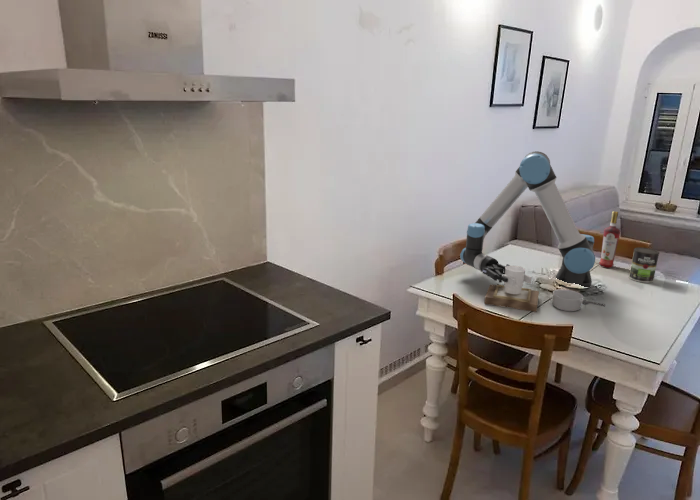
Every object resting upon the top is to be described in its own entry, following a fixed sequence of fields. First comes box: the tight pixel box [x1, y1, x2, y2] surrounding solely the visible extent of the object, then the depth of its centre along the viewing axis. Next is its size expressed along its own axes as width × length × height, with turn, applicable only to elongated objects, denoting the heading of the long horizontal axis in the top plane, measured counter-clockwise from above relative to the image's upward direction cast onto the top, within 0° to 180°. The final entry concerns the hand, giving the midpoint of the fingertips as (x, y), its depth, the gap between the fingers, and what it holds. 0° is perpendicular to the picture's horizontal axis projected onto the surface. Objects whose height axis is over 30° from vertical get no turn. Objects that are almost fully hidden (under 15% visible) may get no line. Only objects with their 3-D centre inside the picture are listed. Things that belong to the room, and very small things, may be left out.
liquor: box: [598, 210, 621, 269], centre depth 254 cm, size 7×7×28 cm
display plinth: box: [484, 283, 540, 313], centre depth 212 cm, size 20×16×4 cm
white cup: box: [503, 265, 526, 294], centre depth 210 cm, size 8×8×10 cm
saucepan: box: [551, 288, 606, 312], centre depth 203 cm, size 12×20×6 cm, turn 45°
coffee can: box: [628, 247, 660, 284], centre depth 238 cm, size 10×10×14 cm
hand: (522, 281), depth 205 cm, fingers closed on white cup, 8 cm apart
